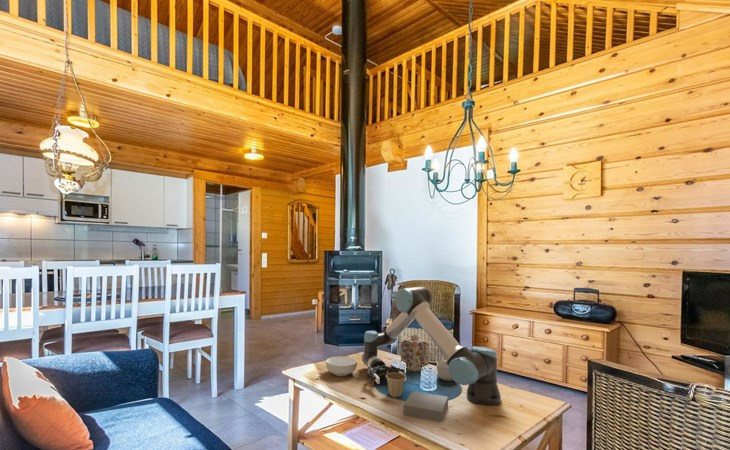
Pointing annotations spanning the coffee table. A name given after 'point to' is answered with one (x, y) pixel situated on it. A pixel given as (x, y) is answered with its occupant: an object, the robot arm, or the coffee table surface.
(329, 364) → the cereal bowl
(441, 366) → the teacup
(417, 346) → the decorative jar
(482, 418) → the coffee table surface
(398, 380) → the flower pot
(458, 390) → the coffee table surface
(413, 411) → the plinth
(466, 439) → the coffee table surface
